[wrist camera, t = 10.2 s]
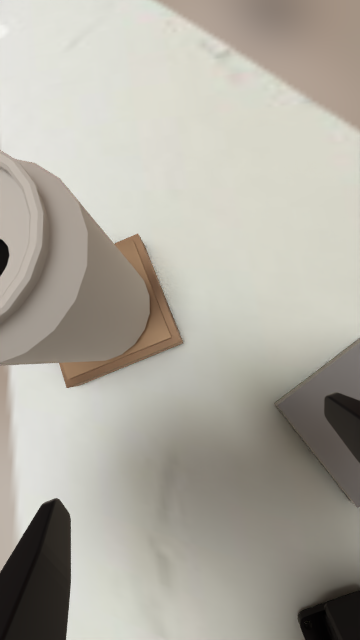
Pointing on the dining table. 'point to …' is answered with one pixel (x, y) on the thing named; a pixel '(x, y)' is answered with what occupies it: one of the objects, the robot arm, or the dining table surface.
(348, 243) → the dining table surface
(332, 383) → the slate coaster
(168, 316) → the plinth
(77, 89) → the dining table surface
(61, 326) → the can
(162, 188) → the dining table surface
